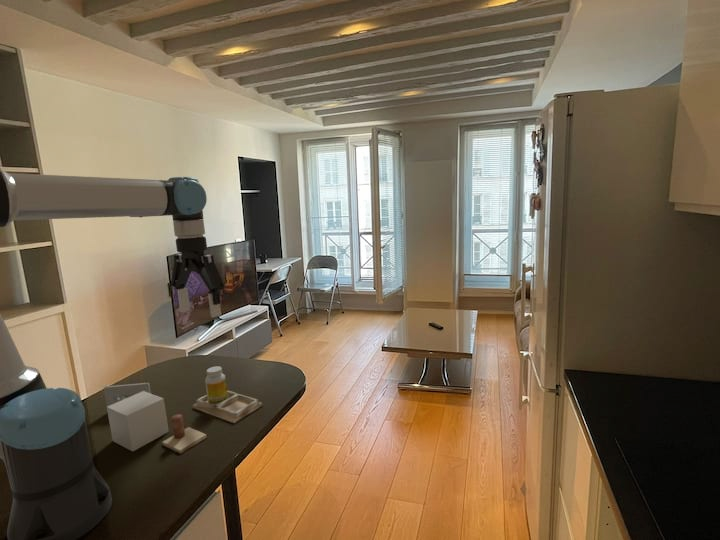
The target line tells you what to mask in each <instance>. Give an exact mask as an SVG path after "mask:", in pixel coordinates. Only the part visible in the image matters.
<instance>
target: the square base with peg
mask: <svg viewBox="0 0 720 540" xmlns="http://www.w3.org/2000/svg"><path fill="white" fill-rule="evenodd" d="M183 419H184V418H183V415H182V414H181V413H180V414H179V413H177V414H174V415H173V416H171V426H172V432H173V435H172V436H170V437H168V438H167V439H165V440H163V441H162V442H161V443H162V446H164V447H165V448H168V449H170V450H172V451H174V452H176V453H178V454H182V453H184V452H186V451H187V450H189V449H190V448H192V447H194V446H196V445H198V444H199V443H200V442H201V441H203V440H206V438H208V437H207V434H206V433H204V432H202V431H199V430H196V429H194V428H192V427H190V426H188V427H186V428H185V427H184V426H185V424H184V420H183Z"/></svg>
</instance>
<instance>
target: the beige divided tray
mask: <svg viewBox="0 0 720 540" xmlns="http://www.w3.org/2000/svg"><path fill="white" fill-rule="evenodd" d="M227 395H228V399H226V400H224V401H222V402H221V403H219V404H217V405H213V404H210V403H208V399H207V394H205V395H203V396H201V397H199V398H198V399H195V403H194V404H192V408H193V409H194V410H197V411H200V412H203V413H205V414H207V415H211V416H214V417H217V418H219V419H220V420H221V419H222V420H224V421H227V422H229V423H233V424H236V423H237V422H239V421H240V420H242V419H243V418H245V417H246V416H249V415H250V414H252V413H253V412H255V411H257V409H260V408H261V407H263V406H264V404H263V402H261V401H260V400H259V399H258V398H254V397H252V396H247V395H244V394H240V393H238V392H235V391H231V390H228V389H227Z"/></svg>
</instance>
